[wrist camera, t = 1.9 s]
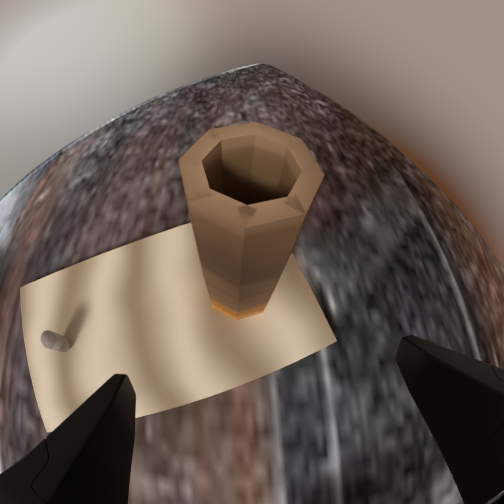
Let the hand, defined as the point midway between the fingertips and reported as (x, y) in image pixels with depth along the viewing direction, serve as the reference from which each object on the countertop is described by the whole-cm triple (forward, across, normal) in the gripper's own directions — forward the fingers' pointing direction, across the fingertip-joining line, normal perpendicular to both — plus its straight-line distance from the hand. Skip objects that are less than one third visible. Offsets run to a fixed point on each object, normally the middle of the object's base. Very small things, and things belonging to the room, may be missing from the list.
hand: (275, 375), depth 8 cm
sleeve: (+13, 0, +3) cm, 14 cm away
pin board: (+13, +7, +6) cm, 16 cm away
